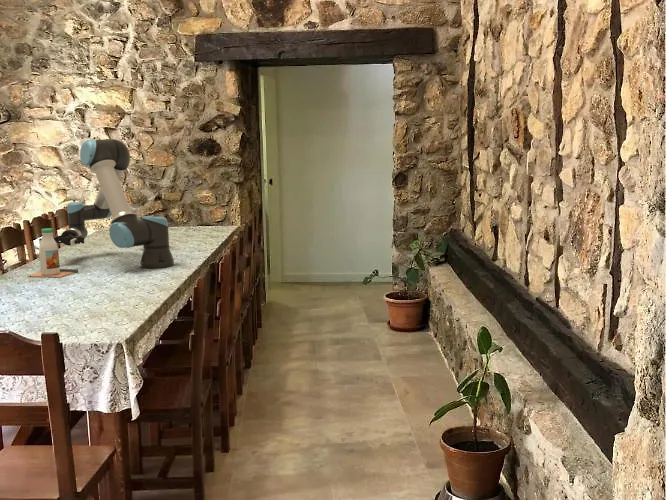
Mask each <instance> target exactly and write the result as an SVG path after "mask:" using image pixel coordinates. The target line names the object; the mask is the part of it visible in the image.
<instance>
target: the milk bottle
mask: <svg viewBox="0 0 666 500" xmlns="http://www.w3.org/2000/svg"><path fill="white" fill-rule="evenodd" d="M53 234H54V230H53V228H50V227H49V228H42V229H41V235H42V236H41V239H42V240H41V243H39V249H38V251H39V252H38V253H39V263H40V271H41V274H42V275H54V274H59V273H60V269H61V267H60V257H59V255H60V253H59V247H58V243H56V241H55V240H54V238H53V236H54V235H53Z"/></svg>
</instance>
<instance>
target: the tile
mask: <svg viewBox="0 0 666 500" xmlns="http://www.w3.org/2000/svg"><path fill="white" fill-rule="evenodd" d="M74 274H75V273H74V272H60V273H59V274H54V275H42V274H41V270H40V271H38V272H34V273H31V274H28V275H27V276H29V277H28V278H45V277H56V278H55V279H61V277H62V278H64V276H65V277H67V275H68V276H71V275H74ZM30 276H31V277H30Z"/></svg>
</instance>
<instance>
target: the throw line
mask: <svg viewBox="0 0 666 500" xmlns="http://www.w3.org/2000/svg"><path fill="white" fill-rule="evenodd" d="M60 272H74V273H73V274H79V269H78V268H60Z"/></svg>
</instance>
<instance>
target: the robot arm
mask: <svg viewBox="0 0 666 500" xmlns="http://www.w3.org/2000/svg"><path fill="white" fill-rule="evenodd" d="M79 157H80V161H81V164H82V165H83V166H86V167H87V166H88V167H89V170H90V172H91V173H94V174H95V176H96V178H97V181H98V184H99V190H98V191H97V195H96V196H95V197H96V198H95V200H94V203H93V204H86V205H85V204H84V203H83V202H81V201H73V202H68V203H67V209H66V210H67V211H66V212H67V221H68V229H66V230H63V231H62V232H61V234H60V235H53V238H54V240H55V241H56V243H57V244H64V245H65V246H69V247H74V246H76V245H79V244H82V245H83V244H85V239H87V237H88V229H87V228H86V224H85V223H86V222H85V221H94V220H104V219H109V218H112V220H111V221H110V224H111V225H110V226H109V230H108V232H109V238H110V240H111V242H112V243H113V244H114V245H115V246H116V247H117V248H120V249H126V248H127V249H129V248H134V247H140V246H142V247H144V250H142V256H141V259H140V267H141V268H144V269H163V268H167V267H172V266H174V265H175V259H174V257H173V254H172V251H171V250H170V237H169V223H168V219H167V218H166V217H162V216H151V215H142V216H141V219H139V217H138V216H137V214H136V213H134V212H132V211H131V210H132V209H131V208H130V206H129V205H130V204H129V203H128V200H127V197H126V194H125V191H124V189H123V188H122V187H123V186H122V185H121V183H120V182H121V179H122V177H123V175H124V171H127V170H128V168H129V166H130V165H129V164H130V162H131V153H130V150H129V147H127V145H126V144H125V143H124V142H122V141H121V140H120V139H113V138H112V139H94V138H93V139H88V140H87V139H86V140H85V141H83V142H82V144H81V146H80V150H79ZM41 240H42V238H39V239H38V243H39V244H40V243H41Z"/></svg>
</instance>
